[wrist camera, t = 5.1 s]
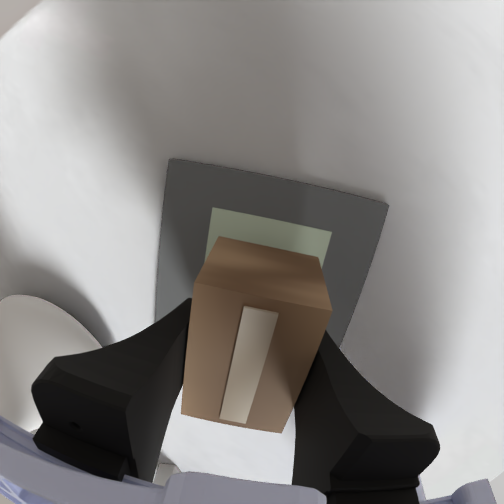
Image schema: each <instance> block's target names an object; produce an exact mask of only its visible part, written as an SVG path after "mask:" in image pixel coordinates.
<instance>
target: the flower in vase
mask: <svg viewBox="0 0 504 504" xmlns="http://www.w3.org/2000/svg"><path fill="white" fill-rule="evenodd" d="M100 348H103V347H102V346H101V345H100V344H99V342H98V341H97V340H96V339H95V338H94V337H93V336H92V334H91V333H90V332H89V331H88V330H87V329H86V328H85V327H84V326H83V325H82V324H81V323H79V322H78V321H77V320H76V319H75V318H73V317H72V316H71V315H70V314H68V313H67V312H65V311H64V310H63V309H61V308H59V307H58V306H56V305H54V304H52V303H50V302H48V301H46V300H44V299H41V298H38V297H34V296H28V295H10V296H7V297H5V298H3V299H2V300H1V301H0V415H1V416H2V417H4V418H5V419H7V420H9V421H10V422H12V423H14V424H16V425H17V426H19V427H21V428H22V429H24V430H26V431H28V432H30V431H32V430H34V429H37V428H39V427H40V426H41V424H42V423H43V421H42V419H41V417H40V415H39V412H38V410H37V407H36V405H35V403H34V400H33V397H32V393H31V385H32V384H33V382H34V381H35V380H36V378H37V377H38V376H39V374H40V373H41V372H42V371H43V369H44V368H45V367H46V365H47V364H48V363H49V362H50V361H51V360H52V359H53V358H54V357H57V356H65V355H72V354H79V353H84V352H88V351H92V350H96V349H100Z"/></svg>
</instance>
